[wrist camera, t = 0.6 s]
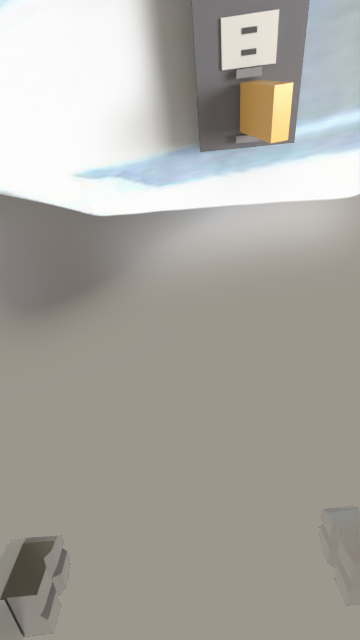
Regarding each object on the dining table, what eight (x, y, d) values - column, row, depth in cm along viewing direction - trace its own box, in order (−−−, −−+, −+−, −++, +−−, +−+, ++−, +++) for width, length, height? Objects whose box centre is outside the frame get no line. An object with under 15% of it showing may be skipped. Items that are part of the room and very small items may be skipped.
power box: (182, -188, 29) (176, -233, 24) (320, -220, 28) (342, -274, 23) (201, 143, 46) (200, 154, 42) (287, 134, 45) (295, 144, 40)
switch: (240, 82, 37) (274, 85, 31) (256, 79, 37) (293, 82, 31) (239, 131, 40) (270, 143, 34) (254, 129, 40) (287, 140, 34)
